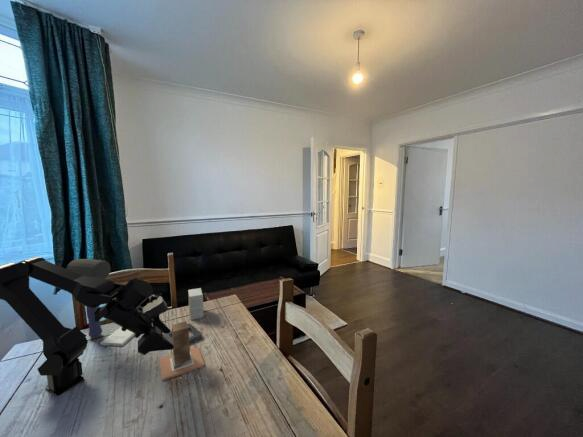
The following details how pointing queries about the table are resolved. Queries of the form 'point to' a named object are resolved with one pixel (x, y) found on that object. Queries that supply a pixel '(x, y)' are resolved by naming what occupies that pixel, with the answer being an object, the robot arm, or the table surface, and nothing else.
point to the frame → (193, 338)
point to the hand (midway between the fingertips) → (171, 339)
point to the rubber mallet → (91, 270)
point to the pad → (170, 372)
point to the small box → (195, 303)
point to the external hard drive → (118, 338)
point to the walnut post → (181, 345)
